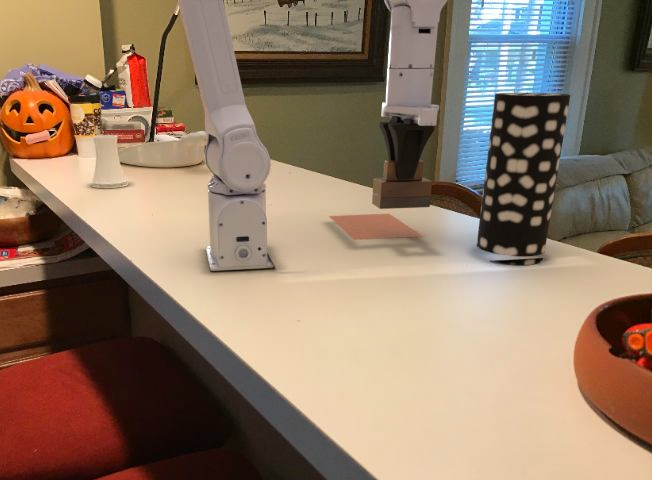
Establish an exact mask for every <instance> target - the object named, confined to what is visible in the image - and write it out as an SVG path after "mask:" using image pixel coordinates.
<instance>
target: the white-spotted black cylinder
mask: <svg viewBox="0 0 652 480" xmlns="http://www.w3.org/2000/svg"><path fill="white" fill-rule="evenodd" d="M570 100H571V94H569V93H555V92H554V93H552V92H499V93H495V94H494V101H493V106H492V107H493V108H492V109H493V110H492V117H491V123H490V133H489V140H488V141H489V142H488V147H487V158H486V166H485V173H484V183H483V190H482V198H481V205H480V213H479V222H478V231H477V238H476V247H477V248H478V249H480V250H481V251H484V252H487V253H490V254H494V255H499V256H506V257H507V256H508V257H518V258H512V259H495V260H490V262H492V263H495V264H503V265H510V266H530V265H536V264H539V263H542V262H543V261H544V257H535V256H539V255H540V256H541V255H542V254H544V253H545V252H546V247H547V246H546V245H547V240H548V234H549V229H550V228H549V227H550V222H551V216H552V209H553V204H554V197H555V191H556V187H557V186H556V185H557V179H558V173H559V167H560V160H561V155H562V150H563V149H562V148H563V142H564V137H565V131H566V124H567V119H568V113H569V106H570ZM519 257H530V258H519ZM531 257H532V258H531ZM533 257H534V258H533Z"/></svg>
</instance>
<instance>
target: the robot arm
mask: <svg viewBox="0 0 652 480" xmlns="http://www.w3.org/2000/svg"><path fill="white" fill-rule="evenodd" d="M383 1H384V4H385V6H386V8H387V9H388V11H389V12H390V29H389V43H388V59H387V73H386V74H387V75H386V88H385V91H386V92H385V101H383V102H382V104H381V117H383V118H390V120H389V121H380V122H379V123H378V126H379V129H380V131H381V133H382V135H383V139H384V142H385V145H386V150H387V156H388V160H395V167H396V175H397V178H398V179H413V178H414V175H415V172H416V169H417V166H418V163H419V160H421V156H422V154H423V151H424V149H425V147H426V145H427V143H428V141H429V140H430V138H431V136H432V135H433V133H434V132H435V129H436V126H437V122H438V112H439V111H440V105H439V104H432V94H433V84H434V73H435V62H436V51H437V50H436V49H437V41H438V39H437V38H438V28H439V23H440V20H441V19H440V18H441V12H442V9H443V7H444V6H445V5H446V4H447V2H448V0H383ZM177 5H178V8H179V12H180V13H179V14H180V16H181V21H182V25H183V29H184V33H185V38H186V41H187V45H188V49H189V53H190V57H191V61H192V65H193V70H194V73H195V74H194V75H195V78H196V82H197V87H198V91H199V95H200V99H201V103H202V106H203V107H202V108H203V111H204V130H205V132H206V136H207V144H206V145H205V149H204V161H205V165H206V167H207V169H208V170H209V172H210V173H211V174H212V176H211V178H210V180H209V182H208V183H207V202H208V203H207V205H208V225H209V229H208V230H209V246H206V247H205V253H206V257H207V261H208V266H209V270H210V271H213V272H215V271H216V272H218V271H234V270H238V271H239V270H255V269H257V270H258V269H272V268H275V267H276V265H275V263H274V262H273V260H272V257H271V255H270V254H269V252H268V219H267V190H266V188H267V185H266V183H265V182H266V181H267V178H268V177H269V175H270V173H271V172H270V171H271V166H272V161H271V156H270V154H269V151H268V149H267V147H266V146H265V145H264V144H263V143H262V142H261V140H260V138H259V136H258V132H257V127H256V125H255V122H254V119H253V118H252V115H251V114H250V111H249V110H248V107H247V104H246V101H245V100H246V99H245V95H244V91H243V86H242V82H241V81H242V80H241V77H240V72H239V68H238V63H237V58H236V53H235V49H234V44H233V40H232V35H231V30H230V25H229V22H228V17H227V12H226V8H225V3H224V0H177Z"/></svg>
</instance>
